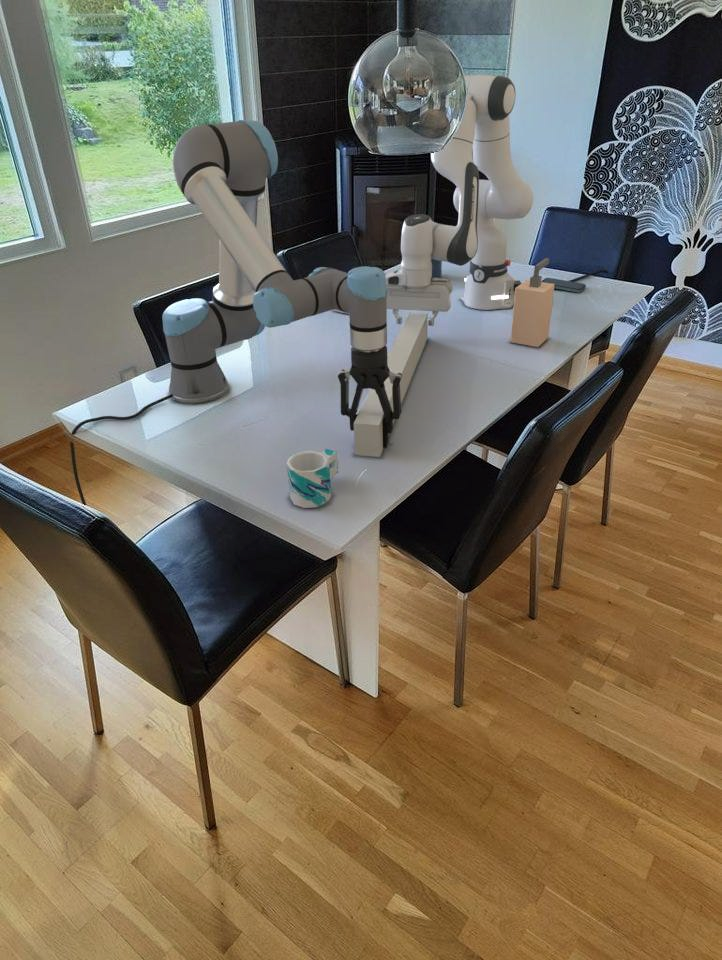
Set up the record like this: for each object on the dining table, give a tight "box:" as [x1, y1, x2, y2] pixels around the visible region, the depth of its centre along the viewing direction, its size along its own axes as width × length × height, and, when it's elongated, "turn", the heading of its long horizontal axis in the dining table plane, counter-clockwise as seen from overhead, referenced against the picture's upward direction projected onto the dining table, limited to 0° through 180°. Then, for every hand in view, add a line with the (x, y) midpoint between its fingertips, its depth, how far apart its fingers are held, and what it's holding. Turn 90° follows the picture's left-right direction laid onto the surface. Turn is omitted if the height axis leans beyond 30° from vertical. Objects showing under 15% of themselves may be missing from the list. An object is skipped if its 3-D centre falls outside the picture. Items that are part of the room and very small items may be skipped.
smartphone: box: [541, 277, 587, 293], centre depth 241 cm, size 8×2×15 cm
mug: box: [286, 448, 339, 509], centre depth 133 cm, size 8×12×8 cm
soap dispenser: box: [510, 257, 555, 348], centre depth 195 cm, size 13×9×22 cm
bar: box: [353, 312, 429, 458], centre depth 174 cm, size 71×6×8 cm, turn 167°
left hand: (371, 443), depth 150 cm, fingers closed on bar, 6 cm apart
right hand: (415, 324), depth 197 cm, fingers open, 8 cm apart
